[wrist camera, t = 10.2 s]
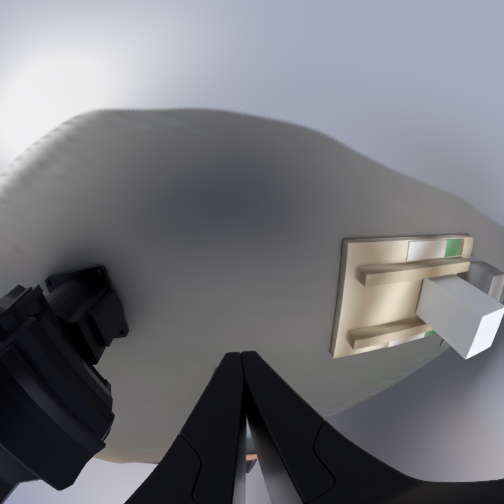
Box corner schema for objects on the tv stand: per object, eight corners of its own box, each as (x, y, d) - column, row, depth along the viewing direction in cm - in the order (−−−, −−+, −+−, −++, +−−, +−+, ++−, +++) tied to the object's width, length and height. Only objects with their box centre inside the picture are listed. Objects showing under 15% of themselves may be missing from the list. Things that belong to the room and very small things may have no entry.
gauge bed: (329, 352, 24) (353, 395, 19) (342, 239, 21) (382, 266, 15) (451, 322, 26) (481, 347, 20) (472, 234, 23) (511, 251, 17)
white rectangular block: (406, 344, 24) (449, 391, 16) (424, 276, 22) (482, 316, 14) (432, 336, 24) (475, 377, 17) (450, 272, 22) (505, 306, 14)
